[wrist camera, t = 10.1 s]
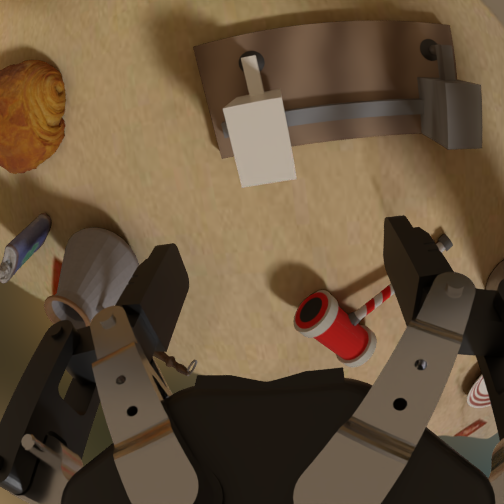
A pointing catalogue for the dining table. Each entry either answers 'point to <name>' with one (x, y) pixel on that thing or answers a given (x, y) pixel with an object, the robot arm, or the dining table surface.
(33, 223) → the flask
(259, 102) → the gauge slider
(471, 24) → the dining table surface
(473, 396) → the dinner plate
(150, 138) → the dining table surface
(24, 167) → the croissant
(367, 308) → the toy hammer
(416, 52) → the base
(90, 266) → the coffee pot
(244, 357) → the dining table surface
